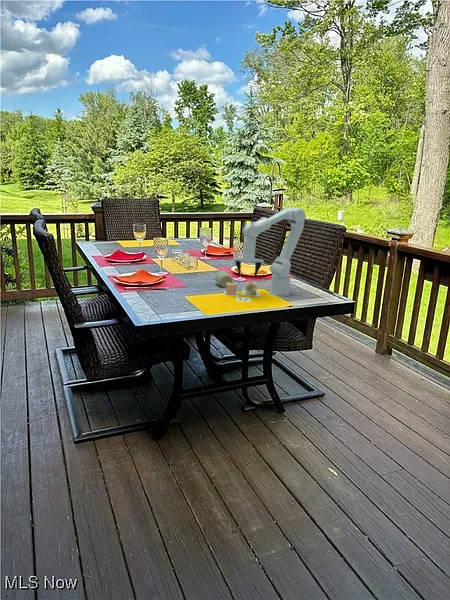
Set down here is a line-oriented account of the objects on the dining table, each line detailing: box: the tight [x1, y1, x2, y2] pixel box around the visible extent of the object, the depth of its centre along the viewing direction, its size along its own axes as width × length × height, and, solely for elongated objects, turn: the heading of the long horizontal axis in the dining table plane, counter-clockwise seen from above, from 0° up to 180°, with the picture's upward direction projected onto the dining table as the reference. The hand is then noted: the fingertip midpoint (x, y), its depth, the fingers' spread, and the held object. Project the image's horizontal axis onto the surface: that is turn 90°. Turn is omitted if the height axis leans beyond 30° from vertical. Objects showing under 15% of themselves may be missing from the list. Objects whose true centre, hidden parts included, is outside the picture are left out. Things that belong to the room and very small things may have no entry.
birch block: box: [245, 281, 258, 295], centre depth 219 cm, size 5×5×5 cm
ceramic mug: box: [214, 270, 235, 289], centre depth 230 cm, size 11×8×8 cm
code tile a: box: [235, 296, 251, 303], centre depth 209 cm, size 7×7×1 cm
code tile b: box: [223, 290, 239, 297], centre depth 217 cm, size 7×7×1 cm
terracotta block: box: [225, 282, 238, 296], centre depth 216 cm, size 5×5×5 cm
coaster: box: [241, 289, 261, 297], centre depth 220 cm, size 9×9×1 cm
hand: (247, 277), depth 213 cm, fingers open, 7 cm apart
